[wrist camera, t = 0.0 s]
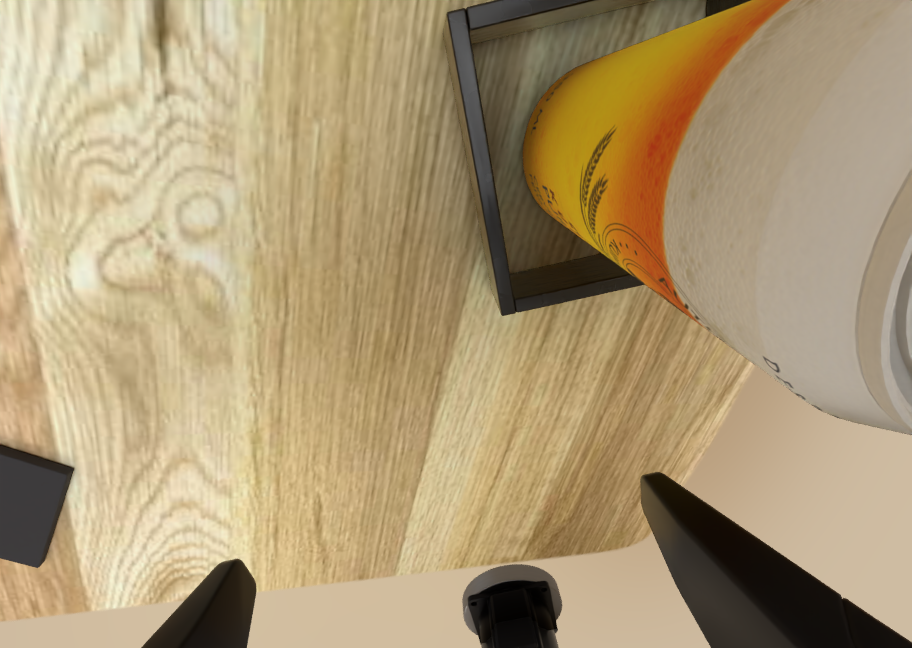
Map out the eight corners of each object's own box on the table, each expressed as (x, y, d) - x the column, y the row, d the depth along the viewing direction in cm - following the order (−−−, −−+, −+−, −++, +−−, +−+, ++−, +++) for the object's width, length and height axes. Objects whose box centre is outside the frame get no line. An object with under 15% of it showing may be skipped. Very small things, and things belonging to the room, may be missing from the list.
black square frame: (710, 241, 19) (756, 260, 17) (491, 290, 20) (501, 316, 17) (723, -37, 15) (789, -72, 12) (442, 31, 15) (445, 11, 13)
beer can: (499, 204, 18) (723, 443, 5) (548, 39, 16) (1339, -502, 2) (628, 238, 19) (1127, 517, 6) (692, 88, 17) (1853, -66, 3)
